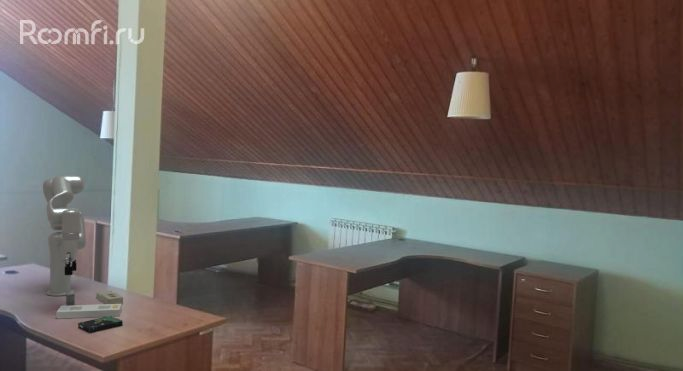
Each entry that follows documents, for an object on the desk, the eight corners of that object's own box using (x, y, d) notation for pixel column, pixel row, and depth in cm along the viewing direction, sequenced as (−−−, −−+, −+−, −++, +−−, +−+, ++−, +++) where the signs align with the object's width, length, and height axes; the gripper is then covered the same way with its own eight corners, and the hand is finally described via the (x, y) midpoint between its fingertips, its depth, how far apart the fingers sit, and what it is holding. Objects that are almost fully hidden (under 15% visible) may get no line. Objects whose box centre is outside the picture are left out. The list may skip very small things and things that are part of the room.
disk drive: (89, 335, 235) (123, 326, 247) (89, 328, 235) (123, 320, 247) (77, 329, 242) (110, 321, 253) (77, 322, 242) (110, 315, 253)
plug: (66, 307, 269) (66, 291, 268) (75, 307, 270) (75, 290, 269) (65, 310, 265) (65, 293, 265) (74, 309, 266) (74, 293, 266)
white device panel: (61, 312, 262) (61, 305, 262) (121, 309, 269) (121, 303, 269) (56, 318, 252) (56, 311, 252) (119, 316, 259) (119, 309, 259)
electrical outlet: (111, 288, 292) (123, 296, 278) (111, 296, 292) (123, 305, 278) (96, 290, 287) (108, 298, 273) (96, 298, 288) (107, 307, 274)
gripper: (65, 233, 273) (65, 269, 274) (57, 239, 256) (57, 277, 257) (82, 233, 275) (82, 268, 276) (76, 239, 258) (76, 276, 259)
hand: (70, 272), depth 266 cm, fingers open, 9 cm apart
